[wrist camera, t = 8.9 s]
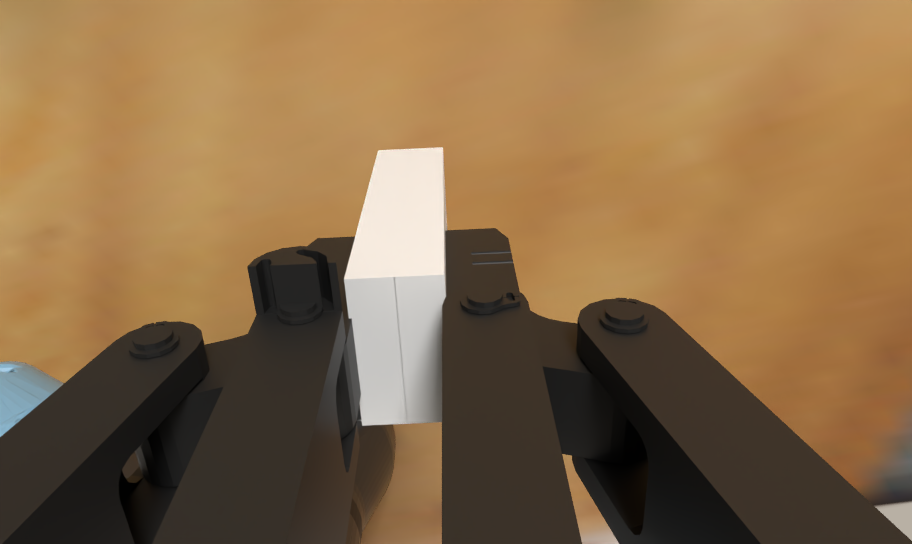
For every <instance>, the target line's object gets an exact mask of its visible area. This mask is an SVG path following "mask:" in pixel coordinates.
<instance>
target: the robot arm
mask: <svg viewBox="0 0 912 544" xmlns="http://www.w3.org/2000/svg"><path fill="white" fill-rule="evenodd" d="M248 273H249V278H250V283H251V288H252V293H253V299H254V304H255V309H256V314H257V315H256V317H255V319H254V322H253V324H252V326H251V328H250V330H249V333H248V334H246V335H244V336H240V337H237V338H233V339H229V340H225V341H220V342H215V343H211V344H206V345H204V341H203V336H202V332H201V330H200V329H198V328H197V327H196V326H195V325H193V324H189V323H184V322H166V321H163V322H156V324H154V323H151V324H147V325H144V326H142V327H141V328H139V329H136V330H134V331H131V332H129V333H127V334H125V335H124V336H122V337H121V338H119V339H118V340H116V341H115V342H113V343H112V344H111V345H110V346H109V347H107V348H106V349H105V350H104V351H103V352H101V353H100V354H99V355H98V356H97V357H95V358H94V359H93V360H92V361H91V362H89V363H88V364H87V365H86V366H85V367H84V368H82V369H81V370H80V371H79V372H78V373H76V374H75V375H74V376H73V377H72V378H70V379H69V380H68V381H67V382H66V383H62V382H61V381H59V380H57V379H55V378H53V377H51V376H49V375H48V374H46V373H44V372H43V371H41V370H39V369H37V368H36V367H34V366H32V365H29V364H26V363H23V362H16V361H6V362H0V544H360V543H361V536H362V531H363V530H364V528H365V526H366V524H367V523H368V521H369V519H370V518H371V516H372V514H373V512H374V511H375V509H376V507H377V506H378V504H379V502H380V500H381V499H382V497H383V495H384V493H385V492H386V490H387V488H388V485H389V482H390V480H391V476H392V472H393V467H394V457H395V433H394V429H393V425H392V424H410V423H431V422H442V544H582V542H581V537H580V533H579V528H578V524H577V519H576V515H575V510H574V506H573V501H572V497H571V492H570V488H569V483H568V479H567V474H566V470H565V465H564V461H563V456H562V454H566V455H572V461H573V464H574V468H575V471H576V472H577V474H578V476H579V477H580V479H581V481H582V482H583V484H584V486H585V487H586V489H587V491H588V492H589V494H590V496H591V497H592V499H593V501H594V502H595V504H596V506H597V507H598V509H599V511H600V512H601V514H602V516H603V517H604V519H605V521H606V522H607V524H608V526H609V527H610V529H611V531H612V532H613V534H614V536H615V537H616V539H617V541H618V542H619V544H912V541H911V540H910V539H909V538H908V537H907V536H906V535H905V534H903V533H902V532H901V531H900V530H899V529H898V528H897V527H896V526H895V525H894V524H893V523H891V521H889V520H888V519H887V518H886V517H885V516H884V515H883V514H882V513H881V512H880V511H878V509H877V508H875V507H874V506H873V505H872V504H871V503H870V502H869V501H868V500H867V499H866V498H865V497H864V496H862V495H861V494H860V493H859V492H858V491H857V490H856V489H855V488H854V487H853V486H852V485H851V484H849V483H848V482H847V481H846V480H845V479H844V478H843V477H842V476H841V475H840V474H839V473H838V472H837V471H835V470H834V469H833V468H832V467H831V466H830V465H829V464H828V463H827V462H826V461H825V460H824V459H822V458H821V457H820V456H819V455H818V454H817V453H816V452H815V451H814V450H813V449H812V448H811V447H810V446H808V445H807V444H806V443H805V442H804V441H803V440H802V439H801V438H800V437H799V436H798V435H797V434H795V433H794V432H793V431H792V430H791V429H790V428H789V427H788V426H787V425H786V424H785V423H784V422H782V421H781V420H780V419H779V418H778V417H777V416H776V415H775V414H774V413H773V412H772V411H771V410H770V409H768V408H767V407H766V406H765V405H764V404H763V403H762V402H761V401H760V400H759V399H758V398H757V397H755V396H754V395H753V394H752V393H751V392H750V391H749V390H748V389H747V388H746V387H745V386H744V385H743V384H741V383H740V382H739V381H738V380H737V379H736V378H735V377H734V376H733V375H732V374H731V373H730V372H728V371H727V370H726V369H725V368H724V367H723V366H722V365H721V364H720V363H719V362H718V361H717V360H716V359H714V358H713V357H712V356H711V355H710V354H709V353H708V352H707V351H706V350H705V349H704V348H703V347H701V346H700V345H699V344H698V343H697V342H696V341H695V340H694V339H693V338H692V337H691V336H690V335H688V334H687V333H686V332H685V331H684V330H683V329H682V328H681V327H680V326H679V325H678V324H677V323H676V322H674V321H673V320H672V319H671V318H670V317H669V316H668V315H667V314H666V313H664V312H663V311H661V310H660V309H658V308H657V307H655V306H653V305H650V304H647V303H644V302H641V301H639V300H635V299H627V298H616V299H606V300H601V301H598V302H594V303H591V304H589V305H588V306H586V307H585V308H584V309H582V310H581V311H580V314H579V317H578V324H576V323H569V322H562V321H557V320H551V319H548V318H545V317H542V316H539V315H537V314H535V313H534V312H532V311H530V308H529V304H528V301H527V299H526V298H525V296H524V295H523V294H522V293H520V292H519V287H518V282H517V278H516V273H515V268H514V264H513V259H512V254H511V249H510V245H509V240H508V238H507V237H506V236H505V235H503V234H502V233H501V232H499V231H498V230H497V229H496V228H491V229H469V230H447V217H446V197H445V178H444V158H443V147H440V148H418V149H397V150H378V153H377V157H376V161H375V164H374V168H373V172H372V176H371V179H370V183H369V187H368V191H367V194H366V198H365V202H364V206H363V209H362V213H361V217H360V221H359V224H358V228H357V232H356V236H355V237H338V238H317V239H316V240H315V241H313V242H312V243H311V244H310V245H308V246H307V247H306V246H298V247H290V248H282V249H279V250H275V251H272V252H268V253H266V254H264V255H262V256H260V257H258V258H256V259H254V260H253V261H252V262H251V263H250V265H249V266H248Z"/></svg>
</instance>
